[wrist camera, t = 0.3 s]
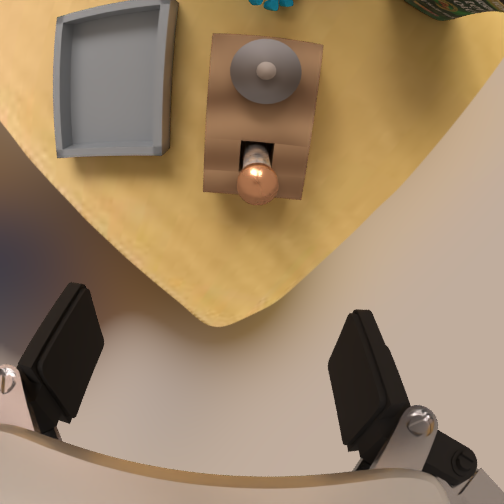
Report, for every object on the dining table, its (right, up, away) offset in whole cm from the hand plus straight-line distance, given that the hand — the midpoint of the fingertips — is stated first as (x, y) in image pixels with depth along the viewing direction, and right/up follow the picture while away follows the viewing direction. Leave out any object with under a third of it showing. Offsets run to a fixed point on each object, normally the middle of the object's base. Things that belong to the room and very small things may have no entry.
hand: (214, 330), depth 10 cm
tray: (-14, +23, +18) cm, 33 cm away
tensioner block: (+2, +18, +21) cm, 28 cm away
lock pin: (+2, +15, +22) cm, 27 cm away
